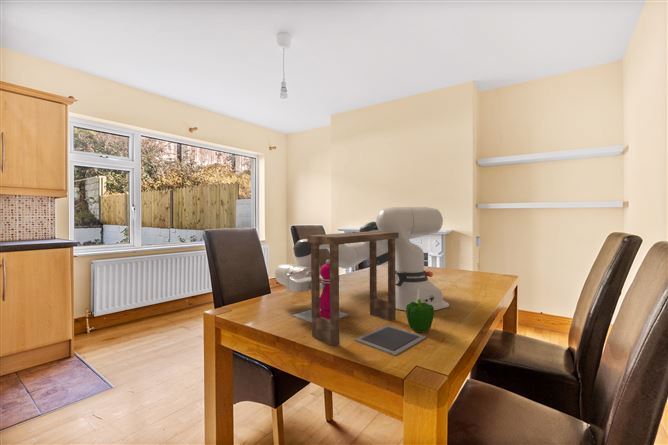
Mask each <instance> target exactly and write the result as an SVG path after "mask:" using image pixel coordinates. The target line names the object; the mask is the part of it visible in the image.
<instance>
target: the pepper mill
mask: <svg viewBox="0 0 668 445" xmlns="http://www.w3.org/2000/svg"><path fill="white" fill-rule="evenodd" d="M320 275H321V276H322V278H321V279H322V281H321V282H322V283H325V288H324V289H322V292H321V293H320V309H321V311H320V317H323V318H326V319H330V258H329V259H326V261H325V264H323V265H321V266H320Z"/></svg>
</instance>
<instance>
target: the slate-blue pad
mask: <svg viewBox="0 0 668 445" xmlns="http://www.w3.org/2000/svg"><path fill="white" fill-rule="evenodd" d="M320 311H321V309H320ZM292 315H293V317H296V318H299V319H300V320H303V321H306V322H309V323H311V324H312V308H311V309H308V310H305V311H304V310H303V311H301V312H298V313H295V314H292ZM347 316H349V314H348V313H345V312H342V311H339V319H342V318H344V317H347ZM329 320H330V319H329Z"/></svg>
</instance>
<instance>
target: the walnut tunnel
mask: <svg viewBox="0 0 668 445" xmlns="http://www.w3.org/2000/svg"><path fill="white" fill-rule="evenodd" d="M397 238H399V232H374V231H369V232H360V231H357V232H354V231H353V232H345V233H344V232H343V233H329V234H312V235H307V237H306V239H307V242H309V243H311V290H310V291H311V295H310V296H311V309H312V323H311V337H313V338H315V339H317V340H320V341H323V342H325V343H327V344H329V345H332V346H334V347H337V346H340V318H339V312H340V269H339V268H340V267H339V245H340V244H349V243H363V242H368V241H369V259H368V261H370V263H369V316H374V317H378V318H381V319H384V320H388V321H391V322H395V321H396V319H397V318H396V314H397V313H396V310H397V309H396V290H395V239H397ZM378 240H388V264H387V300H386V299H381V298H378V296H377V295H378V294H377V293H378V290H377V288H378V286H377V285H378V283H377V282H378V281H377V278H378V276H377V275H378V274H377V273H378V272H377V271H378V269H377V258H376V241H378ZM319 243H320V244H330V253H329V260H330V320H329V319H326V318H323V317H320V296H321V289H320V269H319V265H320V249H319Z"/></svg>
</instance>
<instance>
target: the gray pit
mask: <svg viewBox="0 0 668 445" xmlns="http://www.w3.org/2000/svg"><path fill="white" fill-rule="evenodd" d="M425 339H427V336H425V335H421V334H418V333H417V332H416V333H415V332H412V331H408V330H404V329H402V328H398V327H395V326H393V325H392V326H391V325H390V324H389V325H388V324H386V325H383V326H381V327H379V328H376V329H375V330H374V329H373V331H370V332H368V333H365V334H363V335H361V336H359V337H356V338H354V339H353V340H354V341H355V342H357V343H360V344H363V345H366V346H368V347H371V348H373V349H376V350H379V351H381V352H384V353H387V354H389V355H392V356H395V357H396V356H398V355H399V354H401V353H403V352H405V351H407V350H408V349H410V348H411V347H413V346H415V345H417V344H419V343H421V342H423V340H425Z"/></svg>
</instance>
